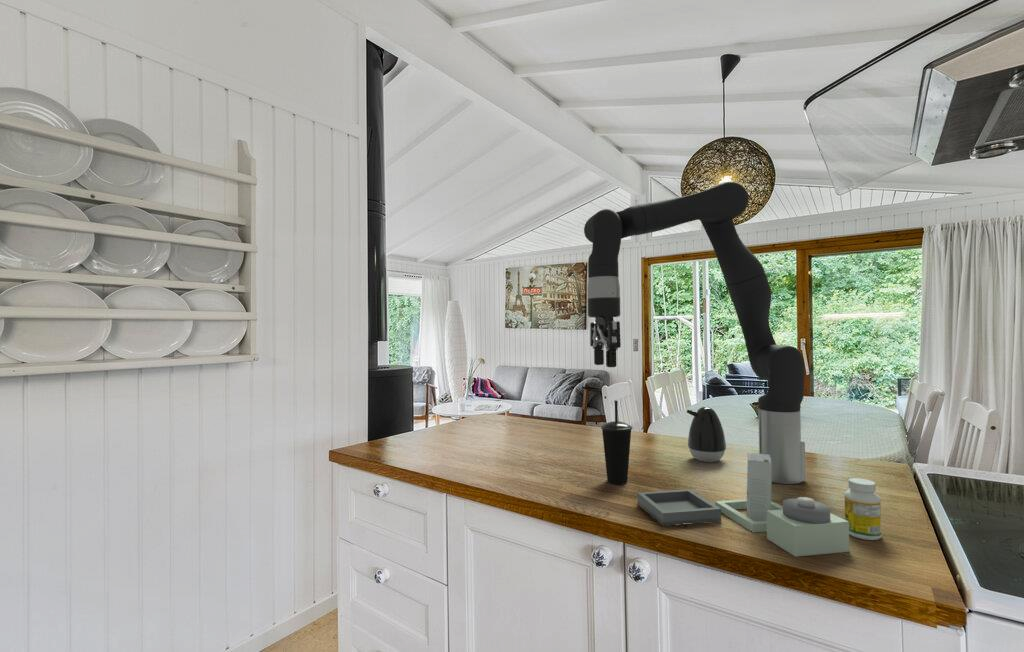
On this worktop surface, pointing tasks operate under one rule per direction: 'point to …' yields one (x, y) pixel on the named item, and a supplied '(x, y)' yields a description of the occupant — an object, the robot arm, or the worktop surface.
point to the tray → (678, 507)
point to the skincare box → (758, 486)
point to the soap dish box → (796, 525)
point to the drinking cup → (616, 449)
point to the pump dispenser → (706, 435)
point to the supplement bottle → (863, 509)
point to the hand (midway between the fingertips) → (604, 365)
